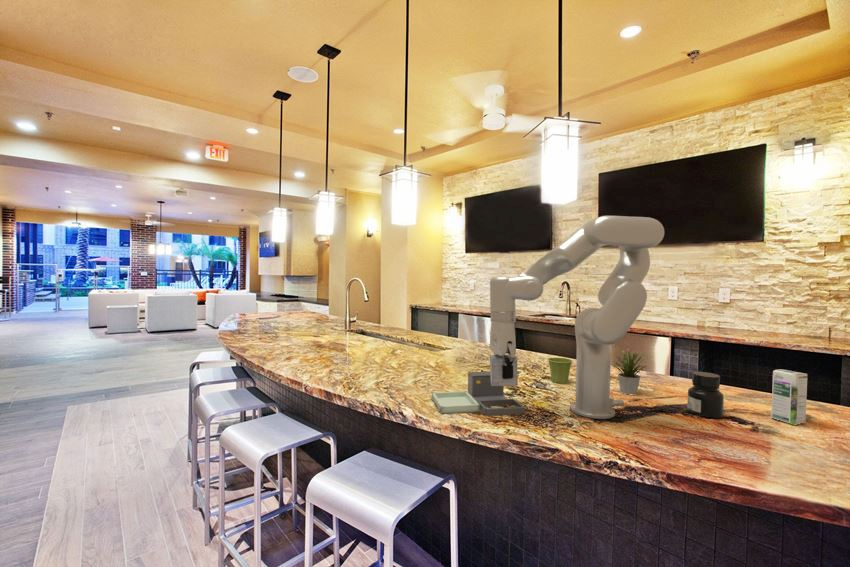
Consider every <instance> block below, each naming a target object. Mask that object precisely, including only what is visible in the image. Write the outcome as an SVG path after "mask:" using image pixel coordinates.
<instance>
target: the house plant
mask: <svg viewBox="0 0 850 567" xmlns="http://www.w3.org/2000/svg"><path fill="white" fill-rule="evenodd" d="M626 351H627V353H628V355H627V354H626V352H625V351H624V349H623V350H622V349H621V354H622V358H623V359H622V358H621V357H620V356H618V355H616V354H615V353H614V352H612V354H613V355H615V357H616V358H617V359H618V361H619V362H620V363H621V364H620V363H618V362H616V361H613V363H614V364H616V365H612V367H613V368H616V369H617V370H618V371H620V373H618V374H617V378H618V386H619V390H620V391H621V392H623V393H626V394H625V395H627V394H636V395H638V394H637V393H638V390H639V385H640V380H641V376H640V375H638V373H639V374H641V372H643V371H644V368H645V369H646V370H647V367H648V366H651V364H650V365H649V364H648V365H641V363H643V362H644V361H645V360H647V359H648V358H649V357H648V355H649V354H651V355H652V354H653V352H647V353H644V354H642V355H640V356H639V358H638V355H639V350H637V351H635V353H633V354H632V352H631V351H630V349H629V348H628V347H626ZM643 357H645V358H643ZM637 358H638V359H637ZM642 358H643V359H642ZM641 359H642V360H641ZM640 360H641V361H640ZM639 361H640V362H639ZM638 362H639V363H638ZM635 366H636V367H635ZM620 391H619V392H620ZM621 392H620V393H621ZM623 393H622V394H623Z"/></svg>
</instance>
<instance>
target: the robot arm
mask: <svg viewBox="0 0 850 567" xmlns="http://www.w3.org/2000/svg"><path fill="white" fill-rule="evenodd" d="M664 236H665V228H664V226H663V224H662V223H661V221H659V220H657V219H655V218H652V217H649V216H647V217H645V216H627V215H626V216H625V215H601V216H599V217H595V218H593V219H589V220H588V221H587V222H585V223H584V224H583V225H582V226H580V227H579V228H577V229H576V230H575V231H574V232H572V233H571V234H570V235H569V236H567V238H566V239H564V240H562V242H561V243H559V244H557V246H555V247H554V248H553V249H551V250H549V251H548V252H547V253H546V254H545V255H543V256H542V257H540V259H538V260H537V261H536V262H533V264H531V265H530V266H529V267H528V268H526V269H525V270H524V271H523V272H521V273H520V274H519V275H518V276H517V277H516V276H515V277H511V276H494V277H492V278H491V279H490V280H489V289H490V290H489V298H490V299H489V303H490V310H489V311H490V331H489V332H490V334H489V335H490V336H489V350H490V351H491V352H492V353H493V355H499V356H502V358H503V365H502V378H503V379H512V378H513V362H514V359H515V356H516V351H517V349H516V347H517V344H516V343H517V342H516V339H517V338H516V328H515V323H516V320H517V319H516V317H517V316H516V300H519V301H520V300H521V301H527V302H530V301H535V300H537V299H539V298H540V297H541V296H542V294H543V292H544V285H545V284H547V283H548V282H550V281H552V280H554V279H555V278H557V277H560V276H562V275H564V274H567V273H569V272H571V271H572V270H574V269H575V268H577V267H579V265H581V264H582V263H583V262H585V261H586V260H587V259H588V258H590V256H592V255H593V254H595V253H596V252H597V251H598V250H599V249H600V248H602V247H604V246H605V247H606V246H616V247H618V249H619V260H618V262H617V264H616V265H615V267H614V268H613V270H612V271H611V272H610V274H609V275H608V277H607V278H606V280H605V281H604V282H603V283H602V285H601V286H600V288H599V291H598V293H597V300H598V302H599V303H600V304H601V305H602V306H601V308H596V307H589V308H588V307H587V308H585V309H583V310H581V311H580V312H579V313H578V314H577V316H576V318H575V320H574V334H575V340H576V342H575V343H576V359H575V360H576V363H575V366H576V368H575V369H576V370H575V372H576V373H575V402H572V403H570V405H569V409H570V411H571V412H572V413H573V414H575V415H578V416H579V417H580V416H581V417H585V418H589V419H595V420H596V419H597V420H607V419H612V418H614V417H615V416H616V411H615V409H614V408H615V407H616V406H617V407H624V405H625V401H624V399H615V398H614V397H611V364H612V363H611V362H612V361H611V359H612V358H611V356H612V355H611V354H612V351H611V346H610V345H614V344H616V343H619V341H621V339H623V338H624V336H625V335H626V334H627V333H628V331H629V329H630V328H631V327H632V325H633V324H634V322H636V320H637V318H639V316H640V314H641V313H642V311H643V310H644V308H645V306H646V304H647V301H648V300H647V299H648V293H647V289H646V288H645V286H644V285H643V284H642V283H643V281H644V279H645V278H646V276H647V274H648V273H649V271H650V266H651V258H650V257H651V256H650V252H649V249H651V248H653V247H657V245H659V244H660V243H661V242H662V240H663V239H664ZM506 357H509V358H507V360H506Z"/></svg>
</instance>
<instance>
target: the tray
mask: <svg viewBox="0 0 850 567" xmlns="http://www.w3.org/2000/svg"><path fill="white" fill-rule="evenodd" d="M431 400H432V402H433V403H434V405H435V406H436V408H437V410H438V411H439V413H440V415H445V414H446V415H448V414H449V415H450V414H463V413H466V414H467V413H480V412H481V410H480V405H479V404H478V402H477V401H476V400H475V399H474V398H473V397H472V396H471V395H470V394H469V393H468V390H465V391H464V390H463V391H441V392H439V391H438V392H435V391H434V392H431Z"/></svg>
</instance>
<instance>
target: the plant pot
mask: <svg viewBox="0 0 850 567" xmlns="http://www.w3.org/2000/svg"><path fill="white" fill-rule="evenodd" d="M547 361H548V365H549V369H550V370H549V371H550V378H551V382H553V383H556V384H557V383H559V384H567V383H568V382H569V378H570V371H571V367H572V363H573V359H571V358H566V357H548V358H547Z"/></svg>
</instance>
